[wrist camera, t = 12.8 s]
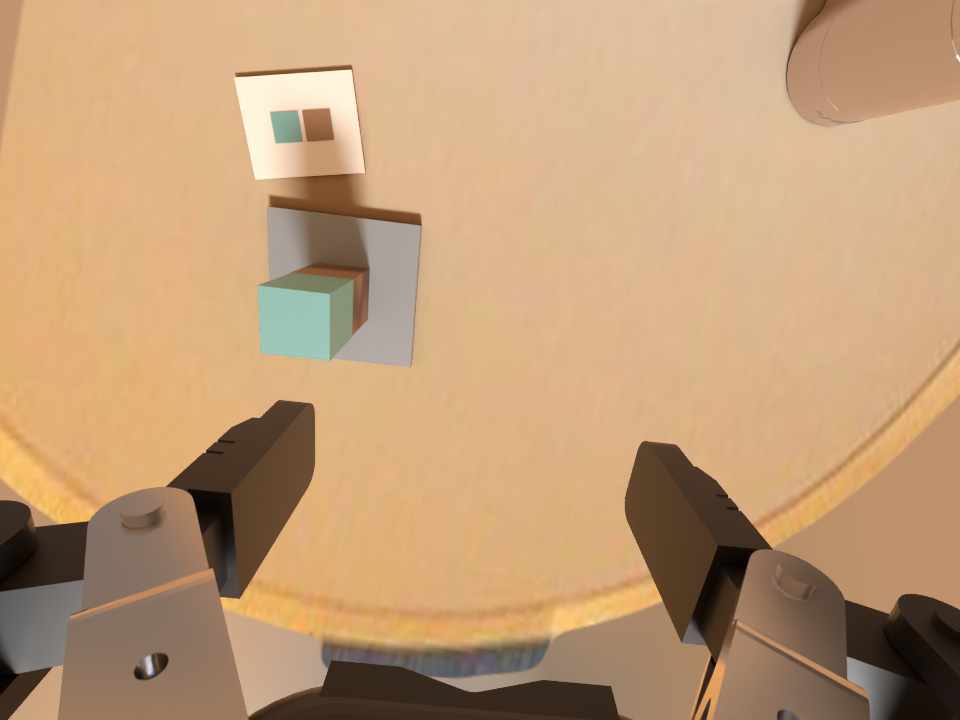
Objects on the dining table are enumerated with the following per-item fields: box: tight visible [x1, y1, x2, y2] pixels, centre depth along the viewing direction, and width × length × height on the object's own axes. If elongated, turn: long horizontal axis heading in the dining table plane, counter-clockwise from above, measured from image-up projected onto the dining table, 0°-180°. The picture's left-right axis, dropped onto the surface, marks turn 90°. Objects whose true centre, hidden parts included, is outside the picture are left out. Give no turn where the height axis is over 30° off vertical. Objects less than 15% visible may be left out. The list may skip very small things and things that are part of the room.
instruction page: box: [234, 70, 365, 180], centre depth 39 cm, size 8×10×1 cm
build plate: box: [267, 207, 422, 367], centre depth 44 cm, size 14×14×1 cm
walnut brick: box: [291, 263, 370, 336], centre depth 40 cm, size 5×5×6 cm
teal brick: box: [258, 272, 353, 361], centre depth 35 cm, size 5×5×6 cm
